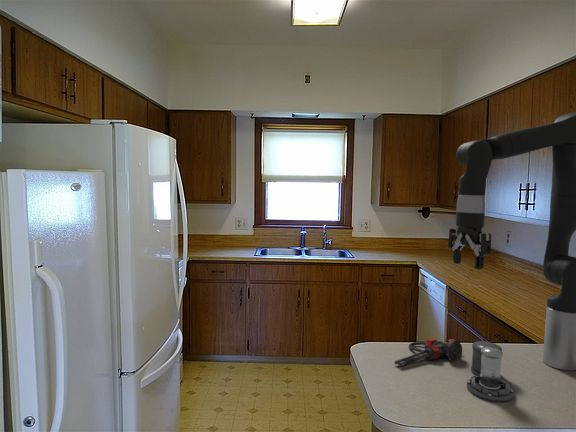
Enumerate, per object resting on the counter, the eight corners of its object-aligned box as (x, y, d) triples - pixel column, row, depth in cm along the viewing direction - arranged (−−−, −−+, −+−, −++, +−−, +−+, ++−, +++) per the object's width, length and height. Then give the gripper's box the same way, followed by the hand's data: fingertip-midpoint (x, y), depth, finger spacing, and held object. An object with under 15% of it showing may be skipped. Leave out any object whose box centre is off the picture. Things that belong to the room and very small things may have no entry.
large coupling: (488, 366, 123) (489, 340, 122) (506, 378, 115) (508, 350, 114) (465, 368, 121) (466, 341, 120) (482, 380, 114) (483, 352, 113)
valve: (433, 346, 142) (471, 356, 129) (376, 366, 129) (412, 379, 116) (431, 328, 142) (469, 336, 129) (374, 345, 129) (410, 356, 116)
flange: (489, 378, 115) (490, 371, 115) (523, 398, 104) (524, 390, 104) (457, 384, 111) (458, 376, 111) (489, 405, 101) (490, 396, 101)
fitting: (489, 381, 111) (491, 345, 110) (504, 390, 106) (507, 353, 105) (474, 384, 109) (476, 347, 109) (489, 393, 105) (491, 355, 104)
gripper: (500, 212, 114) (497, 270, 115) (463, 209, 127) (460, 261, 128) (479, 212, 111) (475, 272, 112) (443, 209, 125) (440, 262, 126)
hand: (467, 266), depth 120 cm, fingers open, 8 cm apart
